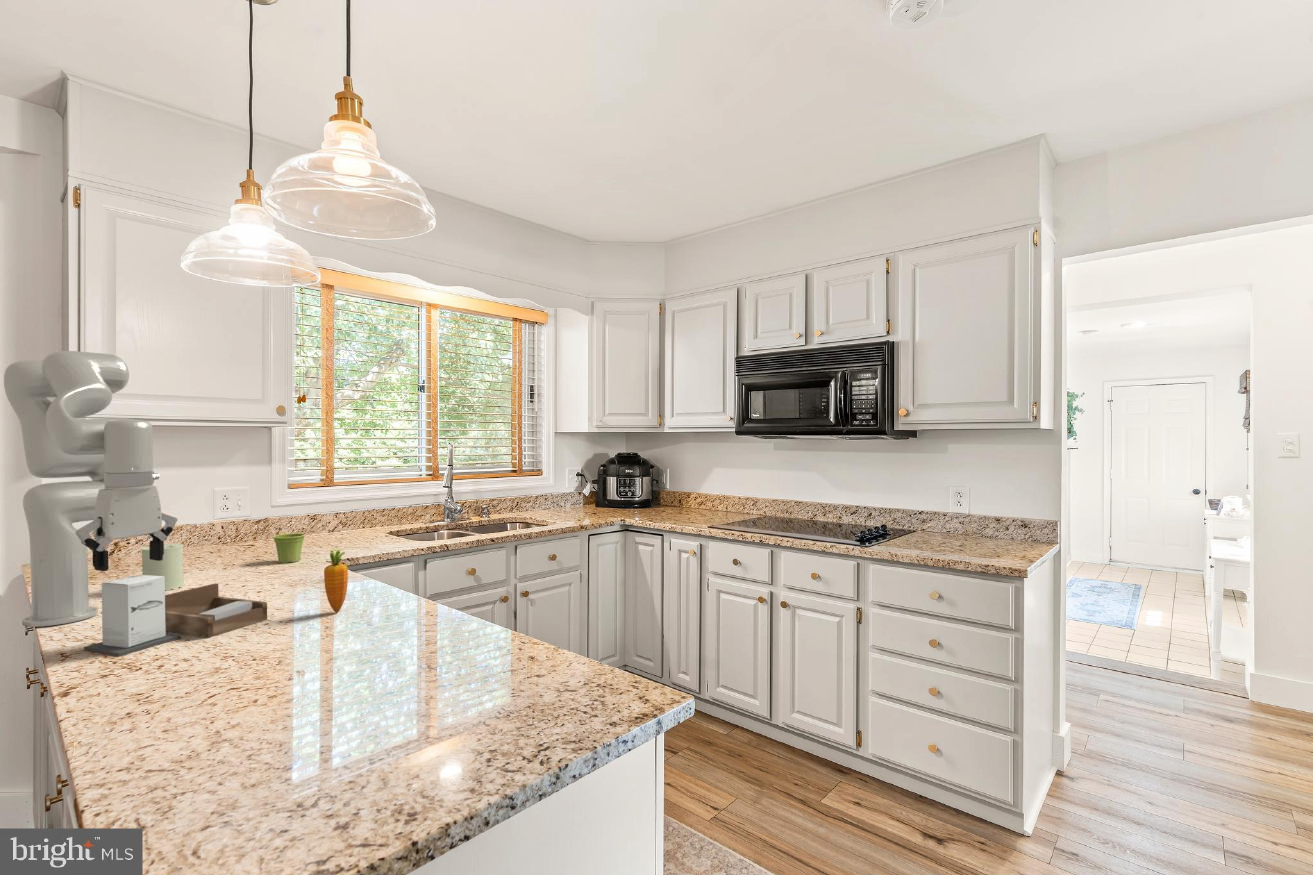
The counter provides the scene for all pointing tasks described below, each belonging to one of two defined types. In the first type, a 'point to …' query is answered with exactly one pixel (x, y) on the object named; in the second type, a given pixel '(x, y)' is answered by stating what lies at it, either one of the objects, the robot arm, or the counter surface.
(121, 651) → the rubber mat
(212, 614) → the upper offcut
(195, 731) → the counter surface
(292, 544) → the plant pot
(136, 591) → the supplement box
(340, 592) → the carrot
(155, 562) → the can
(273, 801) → the counter surface
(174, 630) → the walnut rack
